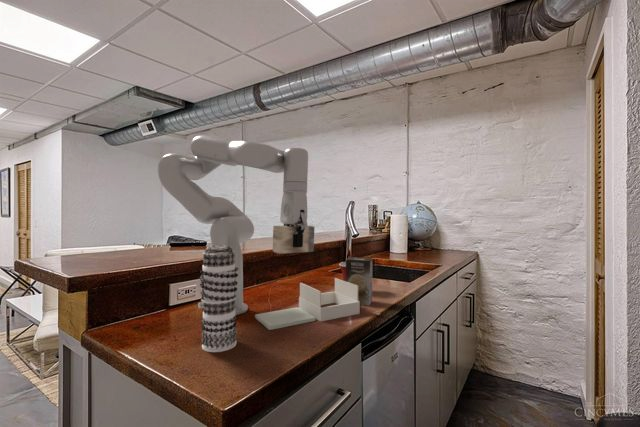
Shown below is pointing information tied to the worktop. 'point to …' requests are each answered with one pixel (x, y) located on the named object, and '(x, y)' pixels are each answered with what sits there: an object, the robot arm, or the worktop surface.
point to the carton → (330, 301)
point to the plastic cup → (343, 270)
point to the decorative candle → (218, 299)
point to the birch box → (285, 239)
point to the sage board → (284, 318)
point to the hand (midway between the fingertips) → (293, 245)
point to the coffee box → (360, 277)
